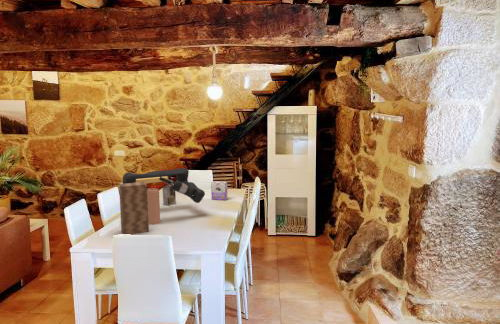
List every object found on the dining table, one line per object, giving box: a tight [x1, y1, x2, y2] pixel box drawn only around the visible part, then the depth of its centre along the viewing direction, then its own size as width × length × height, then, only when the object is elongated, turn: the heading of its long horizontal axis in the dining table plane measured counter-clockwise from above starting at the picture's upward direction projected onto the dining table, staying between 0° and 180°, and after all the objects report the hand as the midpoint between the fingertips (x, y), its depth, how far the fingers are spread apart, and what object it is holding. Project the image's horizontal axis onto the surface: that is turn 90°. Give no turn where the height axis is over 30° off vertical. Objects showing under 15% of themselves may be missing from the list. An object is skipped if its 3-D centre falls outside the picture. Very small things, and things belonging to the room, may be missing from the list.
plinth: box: [118, 182, 150, 235], centre depth 254 cm, size 16×10×32 cm, turn 117°
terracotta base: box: [147, 187, 161, 226], centre depth 275 cm, size 9×9×24 cm
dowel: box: [136, 176, 169, 184], centre depth 272 cm, size 22×4×3 cm, turn 117°
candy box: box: [210, 180, 229, 201], centre depth 346 cm, size 14×6×16 cm, turn 76°
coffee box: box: [162, 184, 177, 207], centre depth 329 cm, size 9×6×16 cm
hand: (159, 177), depth 275 cm, fingers closed on dowel, 3 cm apart
